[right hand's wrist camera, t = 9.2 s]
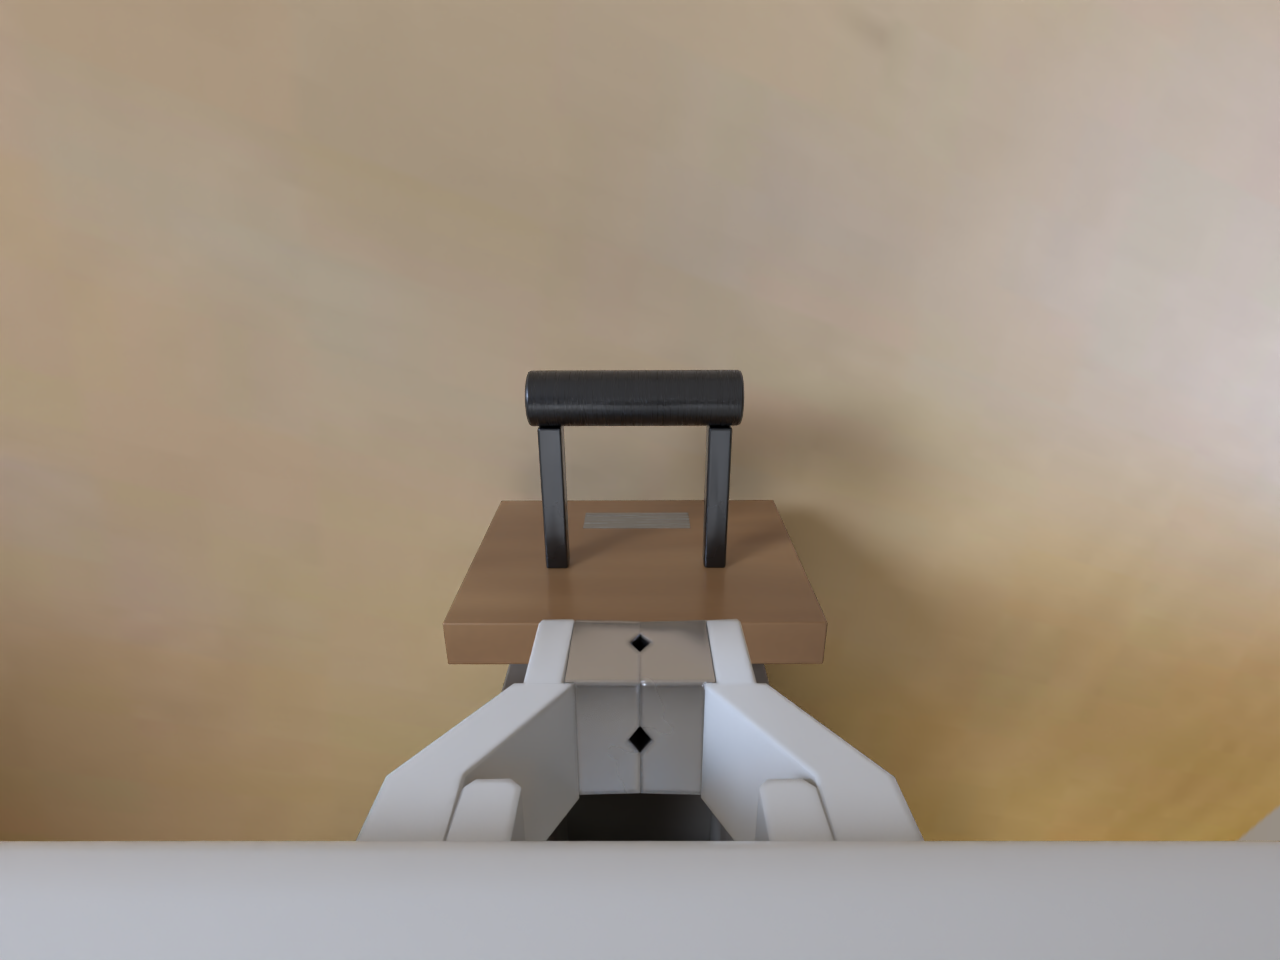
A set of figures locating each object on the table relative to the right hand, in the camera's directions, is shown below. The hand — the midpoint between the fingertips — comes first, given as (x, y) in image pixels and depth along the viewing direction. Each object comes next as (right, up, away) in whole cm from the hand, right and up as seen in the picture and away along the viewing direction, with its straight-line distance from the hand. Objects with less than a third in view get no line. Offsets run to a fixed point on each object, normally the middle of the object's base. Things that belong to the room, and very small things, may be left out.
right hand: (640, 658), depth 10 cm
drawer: (0, -3, +15) cm, 15 cm away
